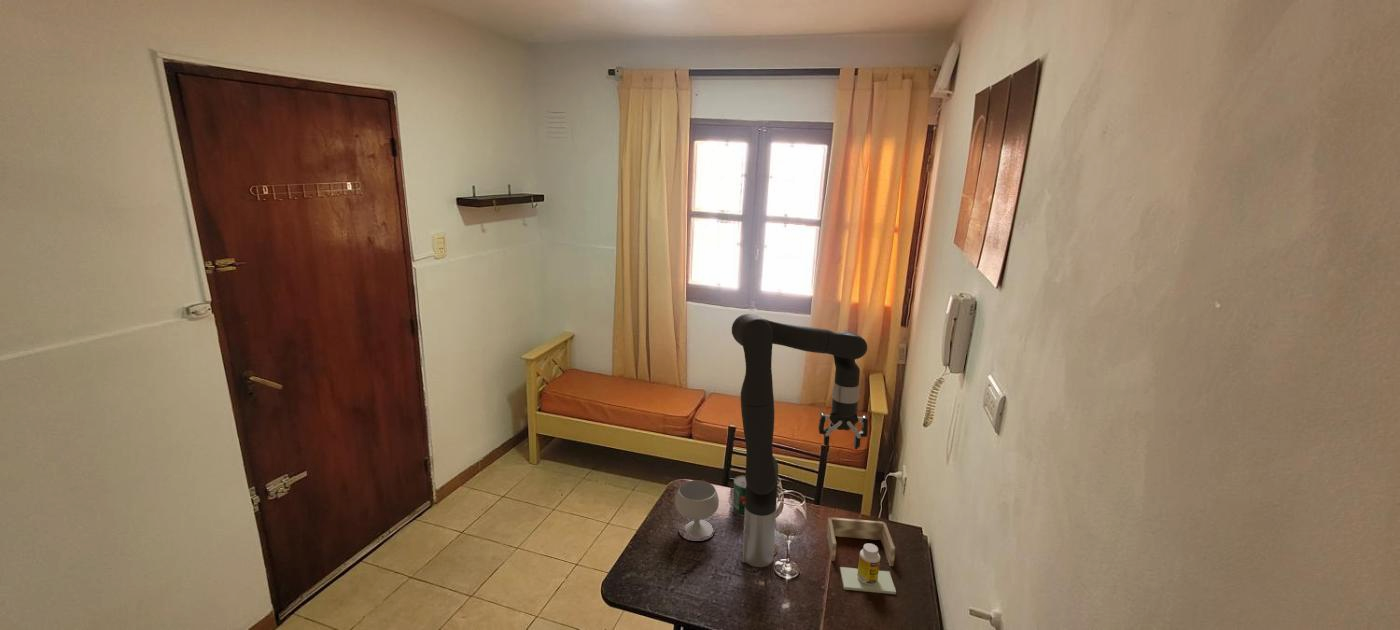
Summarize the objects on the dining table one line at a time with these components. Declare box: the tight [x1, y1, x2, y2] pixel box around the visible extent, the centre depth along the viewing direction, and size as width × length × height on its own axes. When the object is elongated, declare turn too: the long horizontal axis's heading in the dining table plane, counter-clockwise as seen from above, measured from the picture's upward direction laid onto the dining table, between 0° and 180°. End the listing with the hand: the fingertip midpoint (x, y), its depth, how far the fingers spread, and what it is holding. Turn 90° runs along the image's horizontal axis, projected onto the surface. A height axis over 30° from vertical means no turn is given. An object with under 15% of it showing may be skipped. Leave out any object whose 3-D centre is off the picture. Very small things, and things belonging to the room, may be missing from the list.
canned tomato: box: [732, 475, 746, 517], centre depth 181 cm, size 8×8×11 cm
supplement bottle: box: [857, 543, 881, 585], centre depth 148 cm, size 6×6×10 cm
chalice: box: [674, 479, 720, 537], centre depth 169 cm, size 14×14×15 cm
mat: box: [839, 566, 897, 595], centre depth 149 cm, size 14×8×1 cm, turn 83°
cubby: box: [826, 516, 896, 567], centre depth 162 cm, size 18×13×6 cm
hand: (841, 447), depth 160 cm, fingers open, 8 cm apart
